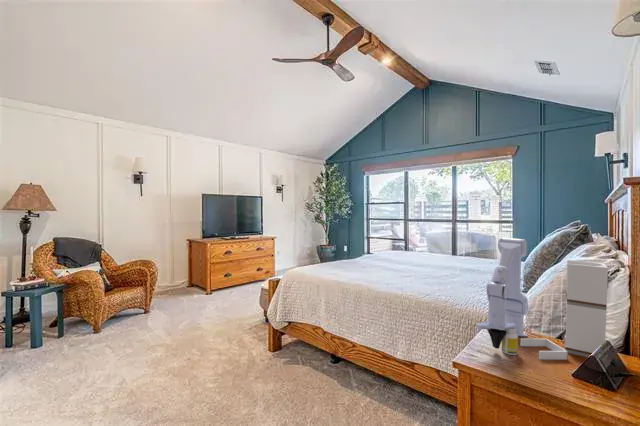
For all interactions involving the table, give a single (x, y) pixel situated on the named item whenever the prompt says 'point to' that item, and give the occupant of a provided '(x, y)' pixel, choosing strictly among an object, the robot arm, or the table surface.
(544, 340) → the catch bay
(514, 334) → the supplement bottle
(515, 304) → the robot arm
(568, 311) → the mini fridge
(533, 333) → the table surface
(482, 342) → the table surface
